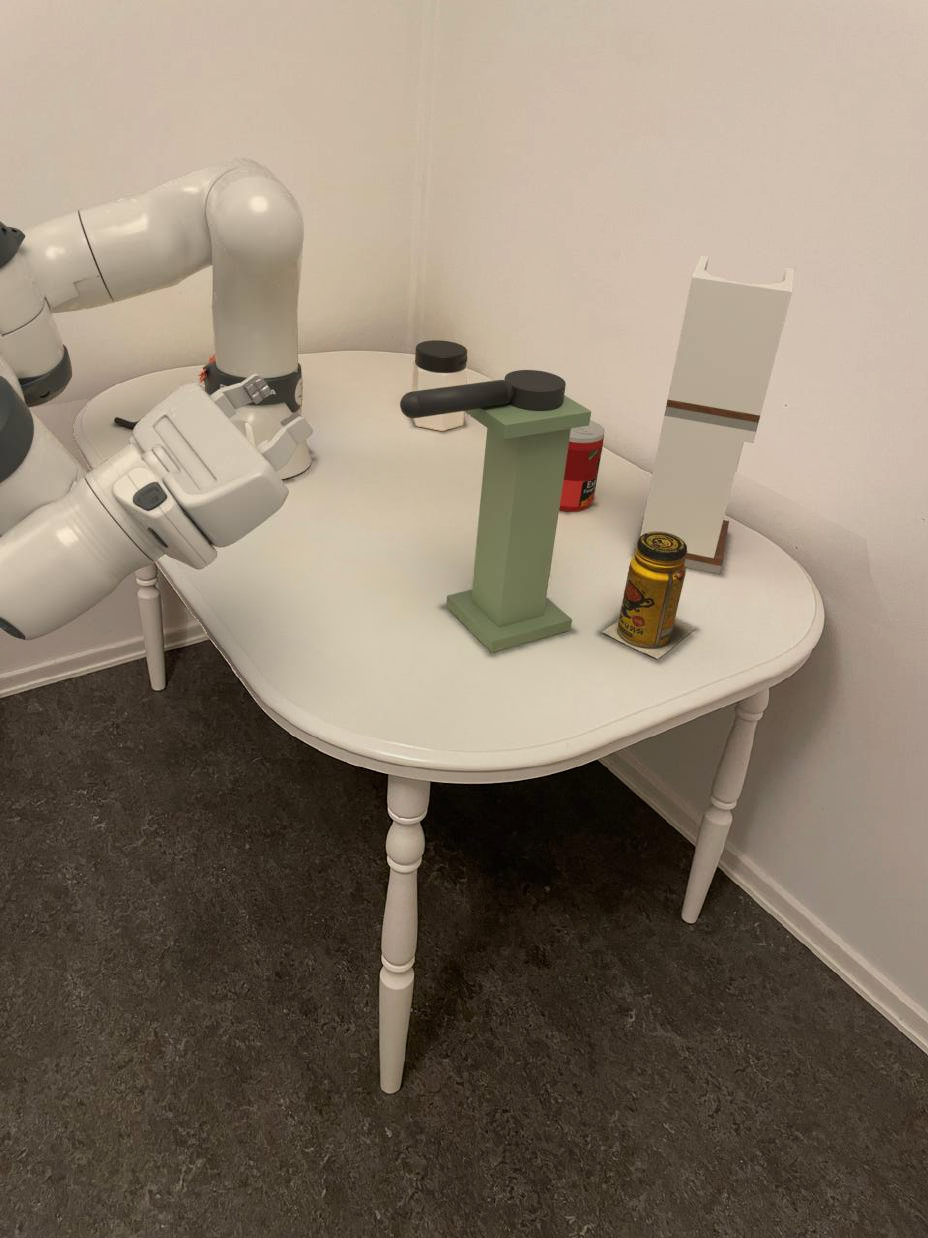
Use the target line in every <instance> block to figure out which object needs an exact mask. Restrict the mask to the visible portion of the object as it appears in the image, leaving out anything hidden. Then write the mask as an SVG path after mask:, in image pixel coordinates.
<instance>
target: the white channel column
mask: <svg viewBox="0 0 928 1238" xmlns="http://www.w3.org/2000/svg"><path fill="white" fill-rule="evenodd" d="M709 259H710V256H708V255H701V256H700V258H699V260H698V262H697V265H696V267H695V269H694V272H693V274H692V276H691V280H690V284H689V289H688V295H687V300H686V305H685V310H684V315H683V321H682V326H681V330H680V334H679V340H678V346H677V350H676V355H675V360H674V364H673V365H674V366H673V369H672V375H671V381H670V385H669V390H668V394H667V395H668V396H667V399H666V404H665V405H666V406H665V411H664V415H663V420H662V426H661V430H660V434H659V440H658V445H657V450H656V455H655V461H654V465H653V470H652V475H651V480H650V485H649V490H648V494H647V495H648V496H647V500H646V505H645V509H644V515H643V520H642V524H641V530H640V535H639V537H640V536H642V535H643V534H645V533H648V532H655V531H656V532H666V533H670V534H673V535H676V536H677V537H679V538H681V539H682V540H683V541H684V542H685V544H686V545H687V553H686V555H685V559H686V561H685V563H684V565H685V567H686V568H687V569H693V570H698V571H701V572H702V571H703V572H707V573H711V574H717V575H720V573H721V571H722V570H721V569H722V566H723V563H724V557H725V550H726V543H727V537H728V531H729V524H730V520H726V519H725V515H726V511H727V507H728V503H729V500H730V495H731V491H732V488H733V483H734V479H735V476H736V472H737V471H738V467H739V463H740V460H741V455H742V451H743V447H744V443H749V444H750V443H751V444H754V441H755V438H756V434H757V431H758V427H759V423H760V418H761V415H762V412H763V407H764V403H765V399H766V396H767V391H768V388H769V384H770V379H771V376H772V372H773V369H774V365H775V362H776V361H775V360H776V357H777V353H778V349H779V346H780V341H781V337H782V335H783V330H784V325H785V322H786V318H787V315H788V311H789V307H790V302H791V299H792V296H793V288H794V287H793V286H794V271H795V270H794V268H790V267H785V268H784V269H785V270H784V273H783V276H782V277H783V278H782V280H781V281H782V282H778V283H769V284H760V283H748V282H740V281H734V280H730V279H727V278H722V277H720V276H716V275H713V274H711V273H709V272H708V271H707V268H708V263H709Z"/></svg>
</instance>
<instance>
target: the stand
mask: <svg viewBox="0 0 928 1238" xmlns="http://www.w3.org/2000/svg"><path fill="white" fill-rule="evenodd" d="M464 413H465V414H467V415H468V416H470V417H471V418H473V419H474V420H475V421H476V422H478V423H479V424H481V425H482V426H484V427H485V428H486V438H485V448H484V460H483V470H482V471H483V472H482V478H481V479H482V480H481V481H482V482H481V489H480V491H481V492H480V500H479V501H480V502H479V512H478V523H477V534H476V543H475V554H474V564H473V576H472V586H471V589H468V590H464V591H460V592H456V593H452V594H448V595H447V596H446V601H445V602H446V604H445V607H446V608H447V609H448V610H449V611H450V613H452V614H453V615H454V616H455V617H456V618H457V619H458V620H459V621H460V622H461V623H462V624H463V625H464V627H466V629H467V630H469V631H470V633H471V634H472V635H473V636H474V637H475V638H476V639H477V640H478V641H479V642H480V643H481V644H482V645H483V646H484V648H486V649H487V650H488V651H489V652H490V653H491V654H492V653H496V652H499V651H503V650H507V649H510V648H513V647H518V646H520V645H521V646H522V645H524V644H527V643H531V642H534V641H539V640H542V639H545V638H549V637H552V636H556V635H559V634H563V633H566V632H567V633H568V632H570V631H571V630H572V629H571V628H572V622H573V619H572V617H570V616H568V615H567V613H566V612H564V611H563V610H562V609H561V608H560V607H559V606H557V605H556V604H555V603H554V602H553V601H552V600H551V599H549V598H548V597H547V595H548V589H549V583H550V575H551V568H552V561H553V555H554V549H555V540H556V533H557V527H558V520H559V515H560V510H559V507H560V500H561V494H562V487H563V480H564V473H565V466H566V459H567V452H568V446H569V439H570V432H571V428H577V427H583V426H589V424H590V420H591V416H592V410H590V409H589V408H587V407H585V406H584V405H582V404H580V403H578V402H577V401H575V400H574V399H572V398H570V397H569V396H567V395H565V394H564V401H563V405H562V406H561V407H559V408H557V409H554V410H549V411H531V410H525V409H520V408H517V407H514V406H512V405H510V404H506V405H502V406H495V407H488V408H481V409H475V410H468V411H464Z"/></svg>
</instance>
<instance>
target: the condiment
mask: <svg viewBox="0 0 928 1238" xmlns="http://www.w3.org/2000/svg"><path fill="white" fill-rule="evenodd" d="M686 553H687V545H686V544H685V542H684V541H683V540H682V539H681V538H679V537H677V536H676V535H673V534H670V533H666V532H656V531H655V532H648V533H645V534H643V535H642V536H640V535H639V539H638V540H637V545H636V548H635V550H634V556H632V558H631V559H630V562H629V565H628V571H627V576H626V581H625V586H624V587H625V588H624V590H623V598H622V602H621V607H620V611H619V616H618V617H619V618H618V620H617V621H615V622H614V623H612V624H611V625H610V626H608V627H607V628H606V629H604V630H602V631H601V632H602V633H603V634H605V635H606V636H608V637H611V638H613V639H614V640H616V641H618V642H620V643H622V644H624V645H626V646H628V647H630V648H632V649H635V650H637V651H638V652H641V653H643V654H646V655H648V656H650V657H653V658H654V659H657V660H659V659H660V658H661V657H662V656H664V655H665V654H666V653H668V651H670V650H672V649H673V648H674V647H675V646H676V645H678V643H679V642H680V641H682V640H683V639H684V638H685V637H687V636H688V635H689V634H691V632H692V631H694V630H695V629H696V627H694V626H691V625H687V624H686V623H682V622H681V621H679V620H676V618H677V617H676V616H677V613H678V608H679V605H680V604H679V603H680V599H681V595H682V590H683V587H684V582H685V578H686V574H687V573H686V572H687V569H686V568H687V567H685V565H684V563H685V561H686V559H685V555H686Z"/></svg>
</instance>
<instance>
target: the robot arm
mask: <svg viewBox="0 0 928 1238" xmlns="http://www.w3.org/2000/svg"><path fill="white" fill-rule="evenodd" d="M304 224H305V223H304V217H303V213H302V209H301V207H300V204H299V203H298V200H297V199H296V198H295V196H294V194H292V192H291V191H290V190H289V189H288V188H287V187H286V186H285V184H284V183H283V182H282V181H281V180H280V179H279V178H278V177H277V176H276V175H275V174H274V173H273V172H272V170H270V169H269V168H268V167H267V166H265V165H264V164H262V163H260V162H258V161H256V160H253V159H251V158H243V157H235V158H230V159H226V160H223V161H221V162H218V163H215V164H211V165H210V166H207V167H204V168H201V169H197V170H195V171H193V172H190V173H186V174H185V175H182V176H179V177H176V178H174V179H172V180H169V181H167V182H165V183H162V184H160V185H158V186H154V187H153V188H150V189H147V190H144V191H141V192H138V193H134V194H131V195H128V196H124V197H119V198H115V199H113V200H109V201H105V202H102V203H97V204H94V205H90V206H86V207H83V208H79V209H76V210H75V209H74V210H72V211H68V212H66V213H62V214H59V215H56V216H53V217H51V218H49V219H46V220H44V221H43V220H42V221H41V222H38V223H36V224H33V225H32V226H30V227H27V228H25V229H23V230H21V229H19V228H17V227H12V226H7V225H6V224H5V223H3V222H2V221H0V629H1V630H3V631H4V632H5V633H7V634H8V635H10V636H12V637H14V638H16V639H19V640H23V641H33V640H36V639H39V638H42V637H45V636H47V635H49V634H51V633H53V632H55V631H57V630H59V629H61V628H62V627H64V626H67V624H70V623H72V622H73V621H74V620H77V618H79V617H80V616H82V615H83V614H85V613H87V612H88V611H90V610H91V609H92V608H94V607H95V606H97V605H98V604H100V603H101V602H103V600H105V599H106V598H107V597H109V596H111V595H112V594H113V593H114V592H115V591H116V589H117V588H118V587H119V586H120V584H121V583H122V582H123V581H124V580H125V579H126V578H127V577H128V576H130V575H131V574H133V573H134V572H137V571H138V570H140V569H144V568H147V567H149V566H151V565H153V564H154V563H156V562H158V560H160V559H161V558H162V557H164V556H165V555H166V556H167V557H168V558H172V559H173V560H176V561H179V562H181V563H183V564H184V565H187V566H189V567H190V568H193V569H194V570H203V569H205V568H206V567H208V566H209V565H210V564H212V563H213V562H214V561H215V560H216V559H217V558H218V556H219V555H218V553H219V552H218V551H217V548H226V547H229V546H231V545H233V544H235V543H237V542H238V541H240V540H241V539H243V538H244V537H246V536H247V535H249V534H250V533H251V532H252V531H254V530H255V529H258V527H260V526H261V525H262V524H263V523H265V522H266V521H267V520H269V519H270V518H271V517H272V516H273V515H275V514H277V512H278V511H279V510H280V509H281V508H282V507H283V505H284V504H285V502H286V500H287V498H288V497H289V494H290V491H289V488H288V486H287V485H286V484H285V482H284V481H283V480H285V479H288V478H292V477H295V476H298V475H299V474H301V473H303V472H305V471H306V470H307V469H308V468H309V467H310V466H311V464H312V461H313V459H312V455H311V452H310V449H309V446H308V442H307V439H308V438H310V437H311V436H312V435H313V428H312V426H311V424H310V423H309V422H308V420H307V419H306V417H304V416H303V415H302V405H303V401H304V380H303V372H302V364H301V363H300V362H299V332H298V331H299V329H298V327H299V326H298V325H299V324H298V308H299V307H298V305H299V294H300V287H301V277H302V266H303V265H302V264H303V249H304V240H305V239H304V237H305V225H304ZM208 267H212V268H211V269H212V296H211V297H212V299H211V301H212V302H211V313H212V314H211V315H212V316H211V317H212V330H213V343H214V346H213V347H214V354H213V355H212V356H210V358H208V363H207V364H205V365H204V366H203V367H202V371H201V372H200V373H199V374H198V377H199V383H203V385H204V387H201V385H200V384H199V383H197V382H190V383H187V384H183V385H182V386H180V387H178V388H177V389H176V390H174V391H173V392H172V393H170V394H169V395H168V396H167V397H165V398H164V399H163V400H162V401H160V402H159V403H158V404H157V405H155V406H154V407H153V408H152V409H151V410H149V411H148V412H147V413H146V414H145V415H144V416H143V417H142V418H140V419H139V420H138V421H130V420H127V419H125V418H122V417H118V416H116V417H114V419H113V422H114V424H117V425H120V426H122V427H125V428H128V429H132V436H130V438H129V439H128V444H127V445H125V446H124V447H123V448H121V449H120V450H119V451H117V452H115V453H114V454H113V455H111V456H110V457H109V458H106V459H105V460H104V461H103V462H102V463H100V464H98V465H97V466H96V467H95V468H93V469H92V470H90V471H89V472H88V471H87V470H86V469H85V468H84V467H83V466H82V464H81V463H80V462H79V461H78V460H77V459H76V458H75V457H74V456H73V455H72V454H71V452H69V451H68V449H67V448H66V447H65V446H64V445H63V444H62V443H61V442H60V441H59V440H58V438H57V437H56V436H55V435H54V434H53V433H52V432H51V431H50V430H49V429H48V428H47V427H46V425H44V423H43V422H42V421H41V420H40V419H39V418H38V417H37V416H36V415H35V413H34V412H32V411H31V409H30V408H34V407H38V406H41V405H43V404H47V403H48V402H50V401H52V400H54V399H56V398H57V397H59V396H60V395H61V394H62V393H63V392H64V391H65V389H66V388H67V387H68V385H69V384H70V382H71V380H72V379H73V368H72V367H73V366H72V362H71V357H70V354H69V350H68V348H67V346H66V345H65V344H64V343H63V341H62V338H61V335H60V331H59V328H58V325H57V323H56V321H55V318H54V316H53V314H61V313H69V312H77V311H78V312H79V311H83V310H88V309H93V308H99V307H103V306H107V305H111V304H115V303H119V302H121V301H125V300H129V299H133V298H135V297H139V296H143V295H147V294H150V293H153V292H157V291H161V290H164V289H168V288H171V287H174V286H177V285H178V284H180V283H182V282H183V281H184V280H186V279H187V278H189V277H191V276H193V275H195V274H196V273H198V272H200V271H203V270H204V269H205V270H206V268H208Z"/></svg>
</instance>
